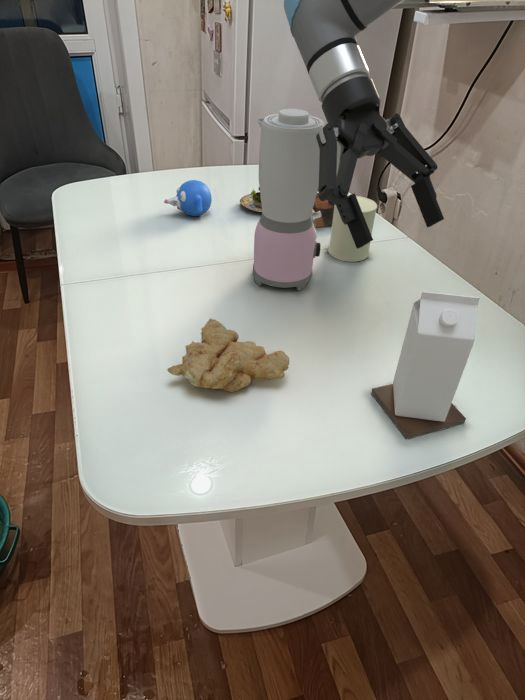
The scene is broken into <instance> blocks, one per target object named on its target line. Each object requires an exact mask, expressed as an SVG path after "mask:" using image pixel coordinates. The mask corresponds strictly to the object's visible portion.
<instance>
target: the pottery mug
mask: <svg viewBox="0 0 525 700" xmlns="http://www.w3.org/2000/svg"><path fill="white" fill-rule="evenodd" d="M318 193H319V192H317V195H316V199H315V203H314V206H313V210H312V211H313V212H314V213H315V214H316V213H318V212H320V214H321V215H320V216H319V217H316V218H313V223H314V227H315V229H316V228H322V227H326V226H332V222H333V214H334V206H331V205H329V203H328V200H325V201H321V200H320V199H319V196H318Z"/></svg>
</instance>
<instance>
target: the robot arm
mask: <svg viewBox="0 0 525 700" xmlns="http://www.w3.org/2000/svg"><path fill="white" fill-rule="evenodd" d="M504 2H505V3H507V2H512V3H513V2H514V3H515V2H525V0H283V10H284V14H285V16H286V19H287V23H288V25H289V31H290V34H291V37H292V38H293V39H294V42H295V44H296V46H297V49H298V51H299V54H300V56H301V58H302V61H303V63H304V66H305V68H306V71H307V74H308V76H309V79H310V81H311V84H312V86H313V89H314V91H315V94H316V97H317V99H318V101H319V102H320V103H321V109H322V112H323V114H324V118H325V120H326V122H327V123H326V124H324V125H325V126H324V127H323V128H322V129H321V130H320V132H319V133H318V134H317V135H316V138H317V142H318V145H319V149H320V157H319V192H317V193H318V196H319V199H320V200H321V201H325V200H328V203H329V205H331V206H334V205H335V204H336V207H337V209H338V212H339V214H340V217H341V219H342V222H343V223H344V224H345V225H346V224H347V225H348V228H349V230H350V233H351V235H352V238H353V240H354V243H355V245H356V248H357V249H358V248H361V247H363V246H364V245H366V244H368V243H369V242H370V243H371V242H372V241H374V238H373V235H371V233H370V231H369V228H368V226H367V223H366V220H365V218H364V215H363V213H362V210H361V208H360V205H359V203H358V200H357V198H356V196H357V194H356V193H351V194H349V193H350V190H351V189H350V188H351V184H352V181H353V177H354V174H355V170H356V166H357V162H358V159H362V158H364V157H365V156H367V157H372V156H377V157H378V158H384V159H385V160H386V161H387V162H388V163H389V164H391V165H392V166H393V167H395V168H396V169H397V170H398V171H399V172H401V173H402V174H403V175H404V176H405V177H407V178H408V179H409V180H410V181H412V182H413V184H412V185H410V188H411V191H412V193H413V196H414V198H415V200H416V202H417V203H416V204H417V205H418V209H419V211H420V214H421V216H422V218H423V221H424V223H425V226H426V228H430V227H432V226H435V225H436V224H438V223H439V222H442V221H443V220H445V218H444V214H443V212H442V209H441V207H440V204H439V201H438V200H437V192H436V189H435V187H434V184H433V182H432V180H431V175H433V174H434V173H435V171H436V170H438V164H437V163H436V161H435V160H434V159H433V158H432V157H431V156H430V154H429V153H428V152H427V151H426V150H425V148H424V147H423V146H422V145H421V143H420V142H419V141H418V140H417V139H416V137H415V136H414V135H413V134H412V133H411V131H410V130H409V129H408V128H407V127H406V125H405V123H404V121H403V119H402V117H401V115H400V114H399V113H397V112H395V113H394V114H393V115H392V116H391V117H390V118H386V119H385V118H384V117H383V116H382V114H381V112H380V108H381V99H380V95H379V93H378V90H377V87H376V86H375V83H374V81H373V79H372V78H371V77H370V75H371V74H370V70H369V67H368V64H367V62H366V60H365V58H364V54H363V53H362V50H361V47H360V45H359V43H358V40H357V37H356V36H357V35H359V34H360V33H361V32H363V31H365V30H366V29H367V28H368V27H369V26H370V25H371V24H373V23H374V22H376V21H377V20H379V19H380V18H382V17H383V16H385V14H387V13H388V12H390V11H391V10H392V9H394V8H395V7H397V6H398V5H400V4H428V3H429V4H431V3H433V4H434V3H504ZM337 141H338V142H339V143H340V144H341V145H342V146H343V149H342V153H341V156H340V160H341V162H340V165H339V169H338V173H337V177H336V171H337ZM385 142H386V143H385Z"/></svg>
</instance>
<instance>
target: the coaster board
mask: <svg viewBox="0 0 525 700" xmlns="http://www.w3.org/2000/svg"><path fill="white" fill-rule="evenodd" d="M370 393H371V395H372V396H373V398H374V399H375V400H376V401H377V403H378V405H379V406H380V407H381V408H382V410H383V411H384V413H386V415H387V416H388V417H389V419H390V420H391V421H392V423H393V424H394V426H395V427H396V428H397V429H398V431H399V432H400V433H401V435H403V437H404V438H405V440H408V439H412V438H415V437H419V436H424V435H426V434H430V433H434V432H438V431H441V430H445V429H449V428H452V427H456V426H459V425H463V424H465V423H466V420H467V417H466V416H465V415H464V414H463V413H462V412H461V411H460V410H459V409H458V408H457V407H456V406H455V405H454V403H453V402H452V403H451V406H450V409H449V412H448V414H447V417H446V420H445V421H444V422H442V421H434V420H426V419H419V418H411V417H404V416H397V415H395V407H394V393H393V383H389V384H386V385H381V386H376V387H372V388H371V392H370Z"/></svg>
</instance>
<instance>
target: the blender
mask: <svg viewBox="0 0 525 700" xmlns="http://www.w3.org/2000/svg"><path fill="white" fill-rule="evenodd" d="M256 122H257V123H258V125H259V127H260V137H259V148H258V149H259V150H258V185H259V186H258V188H259V187H260V191H259V192H260V195H261V203H262V212H261V215H260V218H259V220H258V222H257V224H256V226H255V230H254V237H253V263H252V274H253V276H254V282H255V283H256V284H257V285H258V286H263V284H264V285H267V286H270V287H274V288H284V289H287V288H295V289H296V290H297V291H301V290H304V289H305V288H306V286H307V283H308V282H309V281H310V280H311V278H312V276H313V266H314V259H315V258H316V257H317V258H318V257H320V256H321V245H322V244H321V243H320V242H317V240H316V239H317V237H318V235H317V230H316V227H315V224H314V221H313V218H312V214H313V211H314V210H313V206H314V203H315V199H316V195H317V193H319V157H320V149H319V145H318V142H317V138H316V135H317V134H318V133H319V132H320V130H321V129H322V128H323V127H324V126H325V125H326V124H325V122H324V121H323V120H322V119H320V118H319V117H316V116H313V115H310V113H309V111H307V110H305V109H300V108H284V109H280V110H279V111H278V113H273V114H269V115H266V116H265V117H264V118H258V119H256ZM342 149H343V146H342V145H341V144H340V143H339V142H338V141H337V171H336V177H337V173H338V169H339V165H340V162H341V160H340V156H341V153H342Z"/></svg>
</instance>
